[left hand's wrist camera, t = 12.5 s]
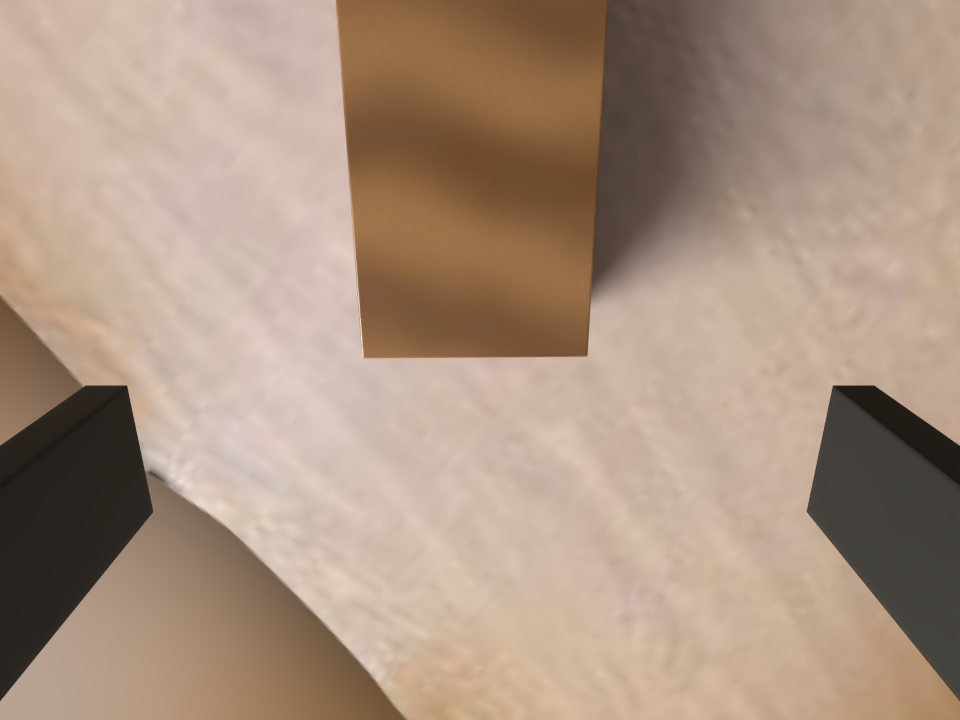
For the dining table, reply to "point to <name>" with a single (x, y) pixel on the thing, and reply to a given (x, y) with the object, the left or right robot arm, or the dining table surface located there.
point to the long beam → (473, 173)
